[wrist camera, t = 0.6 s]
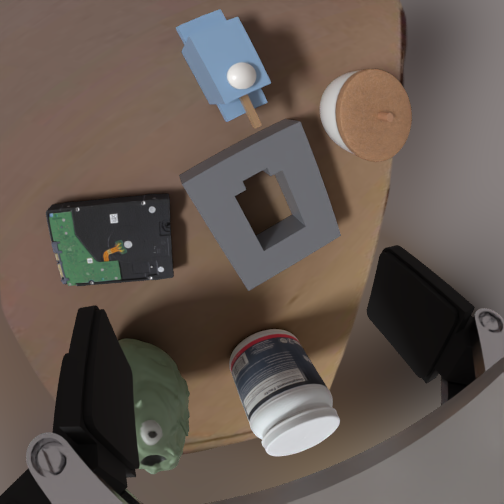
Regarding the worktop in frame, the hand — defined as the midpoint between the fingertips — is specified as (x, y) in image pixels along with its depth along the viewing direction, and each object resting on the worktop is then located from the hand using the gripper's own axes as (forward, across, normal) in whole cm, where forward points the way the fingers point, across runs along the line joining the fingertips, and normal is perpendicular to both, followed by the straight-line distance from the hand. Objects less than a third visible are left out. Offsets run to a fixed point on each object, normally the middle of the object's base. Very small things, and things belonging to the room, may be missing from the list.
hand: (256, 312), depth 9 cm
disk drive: (+27, +10, +8) cm, 30 cm away
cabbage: (+26, +13, +28) cm, 40 cm away
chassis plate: (+26, -9, +7) cm, 29 cm away
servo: (+26, -4, -10) cm, 28 cm away
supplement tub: (+26, -9, +34) cm, 44 cm away
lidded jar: (+27, -20, -5) cm, 34 cm away
